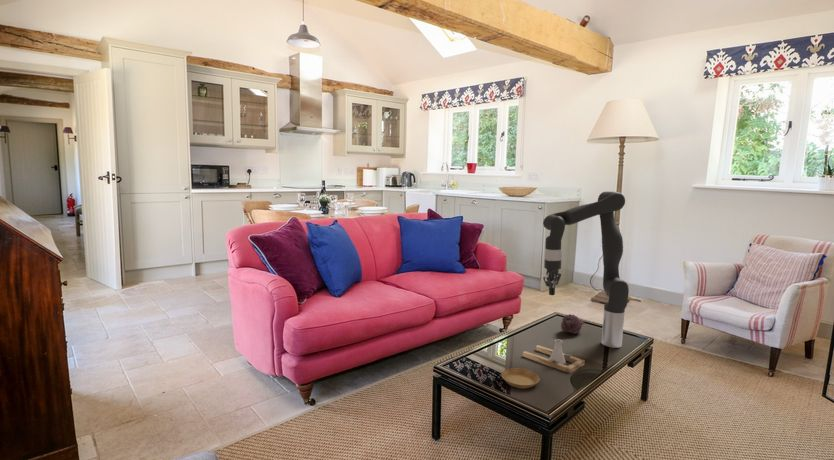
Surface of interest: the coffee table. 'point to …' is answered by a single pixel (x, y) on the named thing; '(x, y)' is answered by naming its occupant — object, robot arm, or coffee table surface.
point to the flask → (558, 352)
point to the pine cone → (571, 324)
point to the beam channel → (569, 369)
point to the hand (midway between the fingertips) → (551, 294)
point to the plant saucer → (520, 377)
